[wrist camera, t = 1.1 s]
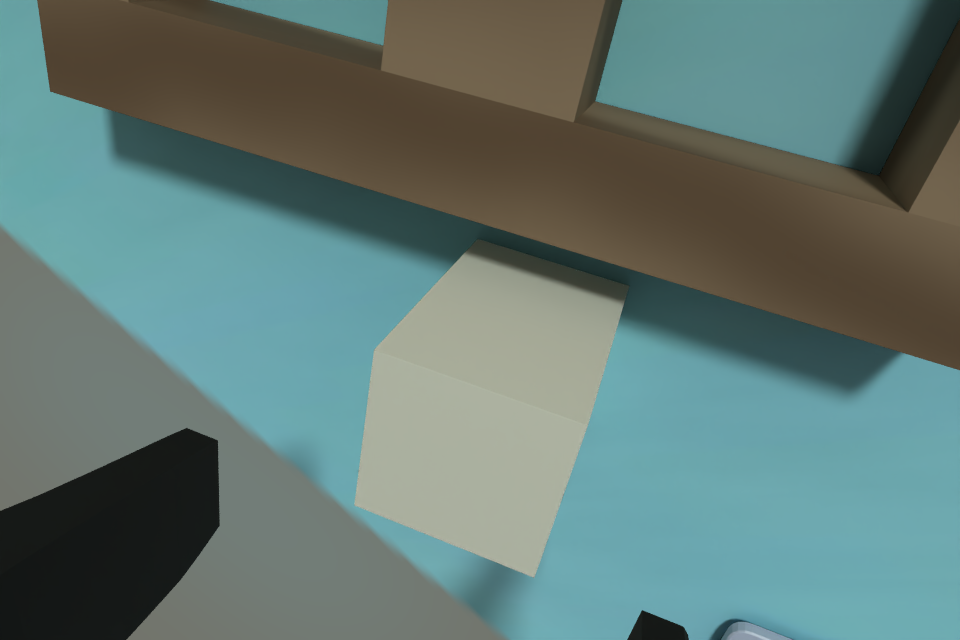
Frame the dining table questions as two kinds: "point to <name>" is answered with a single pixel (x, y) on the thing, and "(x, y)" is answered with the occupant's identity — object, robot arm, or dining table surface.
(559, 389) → the plug
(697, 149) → the socket board
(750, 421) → the dining table surface
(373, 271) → the dining table surface
